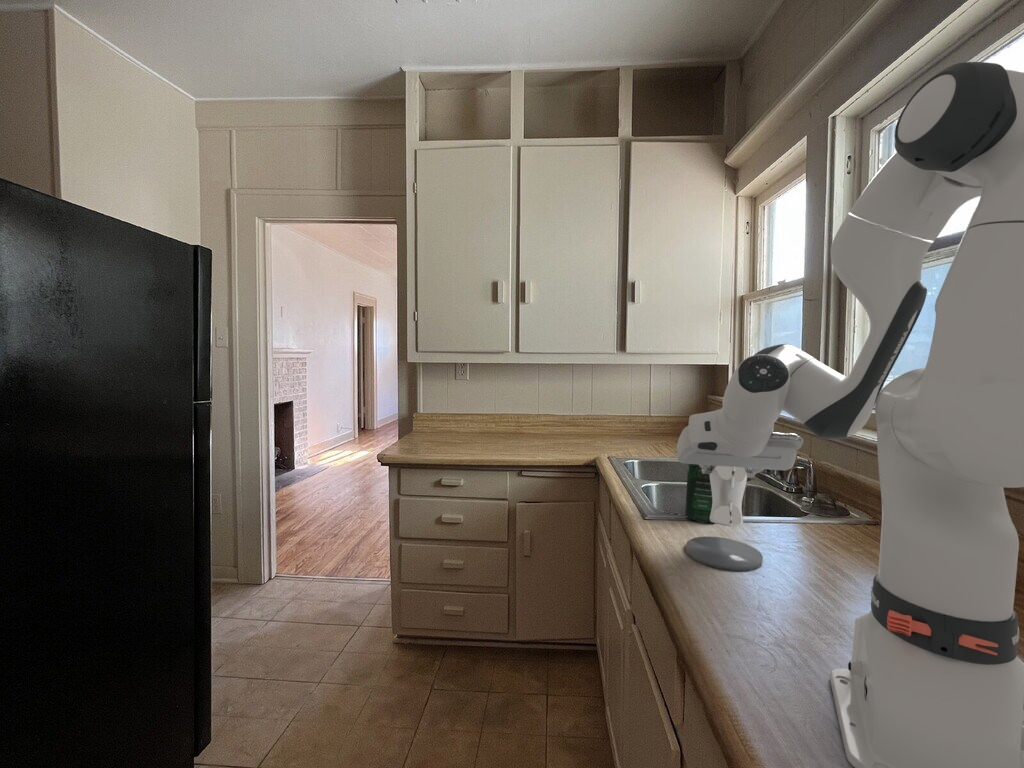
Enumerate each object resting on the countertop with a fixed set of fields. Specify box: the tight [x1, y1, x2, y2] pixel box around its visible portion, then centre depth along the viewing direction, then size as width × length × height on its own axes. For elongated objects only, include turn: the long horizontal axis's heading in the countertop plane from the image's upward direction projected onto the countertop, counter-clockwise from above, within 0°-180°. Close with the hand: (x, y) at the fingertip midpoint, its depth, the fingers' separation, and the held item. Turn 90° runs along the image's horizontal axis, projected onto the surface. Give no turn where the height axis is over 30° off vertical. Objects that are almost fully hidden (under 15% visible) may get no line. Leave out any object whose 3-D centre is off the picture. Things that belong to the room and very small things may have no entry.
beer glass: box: [709, 465, 748, 527], centre depth 95 cm, size 7×7×15 cm
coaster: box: [685, 536, 764, 572], centre depth 96 cm, size 14×14×1 cm
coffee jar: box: [684, 464, 712, 524], centre depth 117 cm, size 10×8×19 cm
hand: (726, 472), depth 95 cm, fingers closed on beer glass, 7 cm apart
